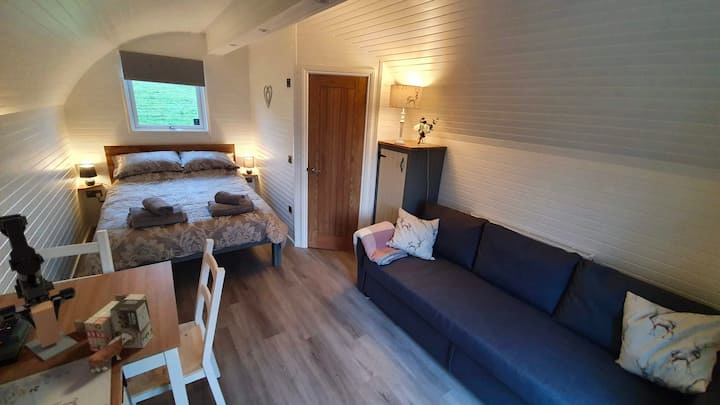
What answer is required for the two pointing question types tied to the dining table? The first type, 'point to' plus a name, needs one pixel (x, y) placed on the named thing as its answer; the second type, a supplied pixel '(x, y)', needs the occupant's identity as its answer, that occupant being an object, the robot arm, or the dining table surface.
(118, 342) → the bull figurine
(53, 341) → the tan block
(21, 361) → the dining table surface
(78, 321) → the beige u-shaped block
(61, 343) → the slate mat
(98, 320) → the printed cardboard box
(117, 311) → the coffee box
